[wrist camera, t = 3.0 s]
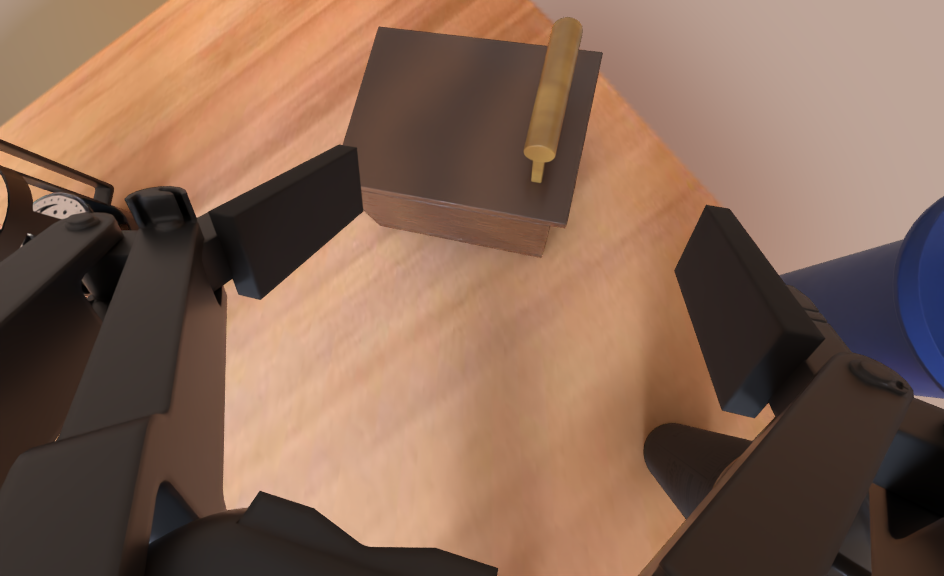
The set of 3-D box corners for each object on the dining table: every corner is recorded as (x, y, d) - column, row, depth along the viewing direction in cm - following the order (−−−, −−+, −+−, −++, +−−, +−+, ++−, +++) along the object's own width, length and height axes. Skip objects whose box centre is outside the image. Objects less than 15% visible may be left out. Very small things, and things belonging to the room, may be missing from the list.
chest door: (600, 60, 27) (622, -15, 21) (565, 228, 25) (578, 194, 20) (382, 34, 29) (350, -39, 24) (336, 186, 27) (291, 144, 22)
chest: (569, 130, 35) (586, 59, 27) (541, 257, 34) (550, 226, 25) (413, 107, 38) (382, 35, 29) (379, 225, 36) (336, 186, 28)
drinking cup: (731, 510, 29) (1184, 847, 9) (627, 503, 30) (840, 797, 10) (722, 406, 30) (1106, 511, 11) (623, 403, 31) (805, 493, 11)
